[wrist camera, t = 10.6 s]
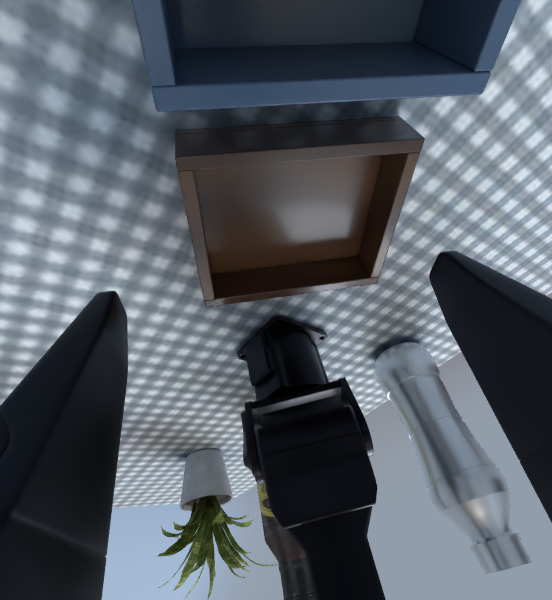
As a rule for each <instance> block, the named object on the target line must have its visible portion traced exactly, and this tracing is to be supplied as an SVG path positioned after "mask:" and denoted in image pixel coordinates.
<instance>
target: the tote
mask: <svg viewBox="0 0 552 600" xmlns="http://www.w3.org/2000/svg"><path fill="white" fill-rule="evenodd" d="M520 2H521V0H132V4H133V8H134V13H135V17H136V22H137V26H138V31H139V35H140V40H141V44H142V49H143V53H144V58H145V62H146V67H147V71H148V76H149V80H150V85H151V86H152V93H153V98H154V102H155V107H156V110H157V111H158V112H168V111H186V110H204V109H223V108H241V107H259V106H277V105H295V104H313V103H332V102H350V101H368V100H386V99H404V98H422V97H441V96H459V95H477V94H482V93H483V92H484V89H485V87H486V84H487V82H488V79H489V77H490V75H491V72H490V71H491V70H492V69H493V67H494V65H495V62H496V60H497V58H498V55H499V53H500V50H501V48H502V45H503V43H504V41H505V38H506V36H507V33H508V31H509V28H510V26H511V24H512V21H513V19H514V16H515V14H516V12H517V9H518V7H519V4H520Z"/></svg>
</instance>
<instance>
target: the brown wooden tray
mask: <svg viewBox="0 0 552 600" xmlns="http://www.w3.org/2000/svg"><path fill="white" fill-rule="evenodd" d="M424 140H425V138H424V137H422V136H421V135H420V134H419V133H418V132H417V131H416V130H414V129H413V128H412V127H411V126H410V125H409V124H407V123H406V122H405V121H404V120H403V119H402V118H401V117H384V118H368V119H352V120H336V121H321V122H305V123H289V124H273V125H257V126H242V127H226V128H210V129H194V130H178V131H175V160H176V165H177V170H178V175H179V179H180V184H181V189H182V194H183V199H184V204H185V209H186V214H187V219H188V224H189V229H190V234H191V238H192V243H193V248H194V253H195V258H196V263H197V268H198V273H199V278H200V283H201V288H202V293H203V297H204V302H205V306H206V307H212V306H219V305H226V304H233V303H240V302H248V301H255V300H262V299H269V298H276V297H283V296H291V295H298V294H305V293H312V292H319V291H326V290H334V289H341V288H348V287H355V286H362V285H369V284H376V283H377V282H378V279H379V276H380V273H381V270H382V266H383V263H384V260H385V257H386V254H387V251H388V248H389V245H390V242H391V239H392V236H393V233H394V230H395V227H396V224H397V221H398V218H399V215H400V212H401V209H402V206H403V203H404V200H405V197H406V194H407V191H408V188H409V185H410V182H411V179H412V176H413V173H414V170H415V167H416V164H417V161H418V157H419V154H420V151H421V149H422V146H423V143H424Z"/></svg>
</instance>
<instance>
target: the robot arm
mask: <svg viewBox="0 0 552 600" xmlns="http://www.w3.org/2000/svg"><path fill="white" fill-rule="evenodd" d="M429 278H430V282H431V285H432V287H433V290H434V292H435V295H436V297H437V300H438V302H439V305H440V307H441V310H442V312H443V315H444V317H445V320H446V322H447V324H448V326H449V328H450V330H451V332H452V334H453V336H454V338H455V340H456V342H457V344H458V345H459V347H460V349H461V351H462V353H463V355H464V357H465V359H466V361H467V362H468V364H469V366H470V368H471V370H472V371H473V374H474V376H475V377H476V380H477V381H478V383H479V385H480V387H481V389H482V391H483V393H484V395H485V396H486V398H487V400H488V402H489V404H490V406H491V408H492V410H493V412H494V414H495V416H496V417H497V419H498V421H499V423H500V425H501V427H502V429H503V431H504V432H505V434H506V436H507V438H508V440H509V442H510V444H511V445H512V448H513V450H514V451H515V453H516V455H517V457H518V459H519V460H520V463H521V465H522V467H523V469H524V471H525V473H526V474H527V477H528V478H529V480H530V482H531V484H532V486H533V488H534V490H535V492H536V494H537V495H538V497H539V499H540V501H541V503H542V505H543V507H544V509H545V511H546V512H547V514H548V516H549V518H550V520H551V522H552V299H551V298H549V297H547V296H545V295H543V294H541V293H539V292H537V291H535V290H533V289H531V288H529V287H527V286H525V285H523V284H521V283H519V282H517V281H515V280H513V279H511V278H509V277H507V276H505V275H503V274H501V273H499V272H497V271H495V270H493V269H491V268H489V267H487V266H485V265H483V264H481V263H479V262H477V261H475V260H473V259H471V258H469V257H467V256H465V255H463V254H461V253H459V252H457V251H445V252H441V253H440V254H439V255H438V256H437V259H436V261H435V263H434V265H433V267H432V269H431V271H430V275H429ZM326 338H327V335H326V333H325V332H323V331H321V330H318V329H315V328H313V327H310V326H307V325H304V324H302V323H299V322H296V321H294V320H291V319H288V318H286V317H283V316H276V317H274V318H273V319H272V320H271V321H270V322H269V323H268V324H267V325H266V326H265V327H264V328H263V329H262V330H261V331H259V332H258V333H257V334H256V335H255V336H254V337H253V338H252V339H251V340H250V341H249V342H248V343H247V344H246V345H245V346H244V347H243V348H242V349H241V350H240V351H239V352H238V353H237V354H238V358H239V359H241V360H245V361H247V365H248V370H249V376H250V382H251V385H252V386H253V387H255V393H256V398H257V401H254V402H251V401H249V402H245V411H244V412H243V413H242V414H241V417H242V424H243V433H244V443H243V460H244V465H245V466H246V467H248V468H249V469H250V470H252V473H253V476H255V479H256V482H257V484H258V485H263V484H265V487H266V492H267V496H268V501H269V506H270V509H271V512H272V513H273V515H274V516H275V518H276V519H277V521H278V522H279V523H280V525H281V526H282V527H283V528H284V529H286V531H287V532H288V533H289V534H290V535H291V537H292V538H293V539H294V540H295V542H296V543H297V544H298V545H299V547H300V548H301V549H302V550H303V551H304V553H305V556H306V560H307V565H308V569H309V574H310V578H311V583H312V587H313V592H314V596H315V600H385V596H384V593H383V590H382V586H381V583H380V580H379V576H378V573H377V569H376V566H375V563H374V559H373V556H372V553H371V549H370V546H369V542H368V539H367V533H368V527H369V522H370V516H371V511H372V506H373V505H375V503H376V495H377V484H376V480H375V476H374V473H373V469H372V466H371V463H370V459H369V457H370V456H373V452H374V451H373V444H372V439H371V436H370V432H369V429H368V426H367V423H366V421H365V418H364V416H363V414H362V411H361V409H360V407H359V405H358V403H357V401H356V399H355V397H354V395H353V393H352V391H351V389H350V387H349V385H348V383H347V381H346V379H345V377H344V378H340V379H338V380H337V381H333V382H329V381H328V378H327V375H326V372H325V369H324V366H323V364H322V361H321V358H320V355H319V352H318V349H317V346H318V345H319V344H321V343H322V342H323V341H324V340H325V339H326ZM127 375H128V340H127V315H126V312H125V309H124V307H123V305H122V303H121V300H120V298H119V296H118V294H117V293H116V292H115V291H107V292H100V293H98V294H96V295H95V296H94V298H93V299H92V300H91V301H90V302H89V303H88V305H87V306H86V307H85V308H84V309H83V310H82V312H81V313H80V314H79V315H78V316H77V317H76V319H75V320H74V321H73V322H72V323H71V324H70V325H69V327H68V328H67V329H66V330H65V331H64V332H63V334H62V335H61V336H60V337H59V338H58V339H57V341H56V342H55V343H54V344H53V345H52V346H51V348H50V349H49V350H48V351H47V352H46V353H45V355H44V356H43V357H42V358H41V359H40V360H39V362H38V363H37V364H36V365H35V366H34V367H33V368H32V370H31V371H30V372H29V373H28V374H27V375H26V377H25V378H24V379H23V380H22V381H21V382H20V384H19V385H18V386H17V387H16V388H15V389H14V391H13V392H12V393H11V394H10V395H9V396H8V398H7V399H6V400H5V401H4V402H3V403H2V405H1V406H0V600H101V598H102V590H103V582H104V574H105V565H106V557H105V556H106V554H107V547H108V538H109V530H110V521H111V512H112V504H113V496H114V487H115V479H116V470H117V462H118V453H119V445H120V436H121V428H122V419H123V411H124V402H125V394H126V385H127Z"/></svg>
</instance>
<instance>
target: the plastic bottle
mask: <svg viewBox="0 0 552 600" xmlns="http://www.w3.org/2000/svg"><path fill="white" fill-rule="evenodd" d="M374 370H375V374H376V378H377V382H378V383H379V385H380V387H381V388H382V390H383V392H384V393H385V395H386V396H387V397H388V399H389V400H390V401H391V403H392V405H393V406H394V408H395V410H396V412H397V414H398V415H399V417H400V419H401V421H402V423H403V424H404V426H405V428H406V431H407V433H408V435H409V438H411V441H412V445H413V448H414V450H415V453H416V455H417V457H418V460H419V463H420V466H421V470H422V473H423V476H424V479H425V482H426V485H427V488H428V489H429V494H430V497H431V499H432V502H433V504H434V505H435V506H436V508H437V509H438V511H439V512H440V513H441V514H442V515H443V516H444V517H445V518H446V519H447V520H449V521H450V522H451V523H452V524H453V525H454V526H456V527H457V528H458V529H460V530H461V531H462V532H464V533H465V534H466V535H467V536H469V538H470V539H471V541H472V543H473V546H471V547H470V548H471V550H472V552H473V553H475V555H476V557H477V559H478V561H479V563H480V566H481V568H482V570H483V571H484V572H485V574H488V573H493V572H497V571H501V570H505V569H509V568H513V567H516V566H520V565H523V564H527V563H529V562H531V559H530V556H529V555H528V553H527V551H526V549H525V548H524V546H523V544H522V542H521V538H520V536H519V534H518V533H517V534H514V533H513V532H512V530H511V527H510V525H509V520H510V492H509V489H508V485H507V482H506V479H505V478H504V476H503V475H502V473H501V472H500V470H499V469H498V468H497V467H496V466H495V464H494V463H493V461H492V460H491V458H490V457H489V456H488V455H487V453H486V452H485V451H484V449H483V448H482V447H481V446H480V444H479V443H478V442H477V440H476V439H475V437H474V436H473V434H472V433H471V431H470V430H469V428H468V427H467V425H466V424H465V422H463V421H462V417H461V416H460V414H459V413H458V411H457V410H456V408H455V406H454V404H453V402H452V400H451V398H450V396H449V394H448V392H447V390H446V388H445V386H444V384H443V381H442V380H441V376H440V373H439V370H438V367H437V365H436V363H435V360H434V358H433V357H432V356H431V355H430V353H429V352H428V351H427V350H426V349H425V348H424V347H423V346H421V345H418V344H416V343H413V342H404V343H399V344H396V345H394V346H392V347H390V348H388V349H386V350H385V351H383V352H382V353H381V354H380V355H379V356H378V357H377V359H376V363H375V368H374Z"/></svg>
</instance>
